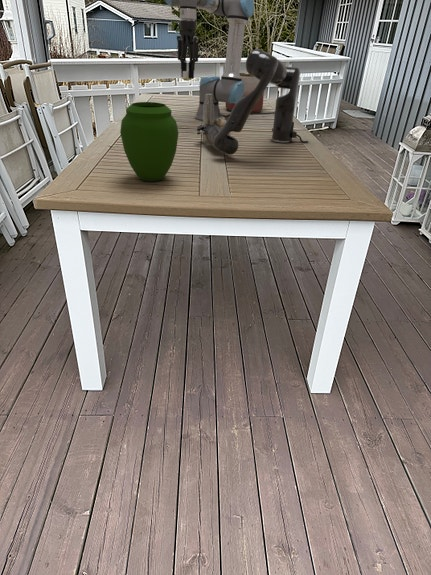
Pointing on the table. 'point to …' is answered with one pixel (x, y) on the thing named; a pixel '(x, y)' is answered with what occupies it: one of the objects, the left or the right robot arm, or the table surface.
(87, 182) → the table surface
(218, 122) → the seashell
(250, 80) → the planter
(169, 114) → the vase
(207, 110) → the bottle
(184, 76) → the cap
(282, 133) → the right robot arm
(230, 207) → the table surface
